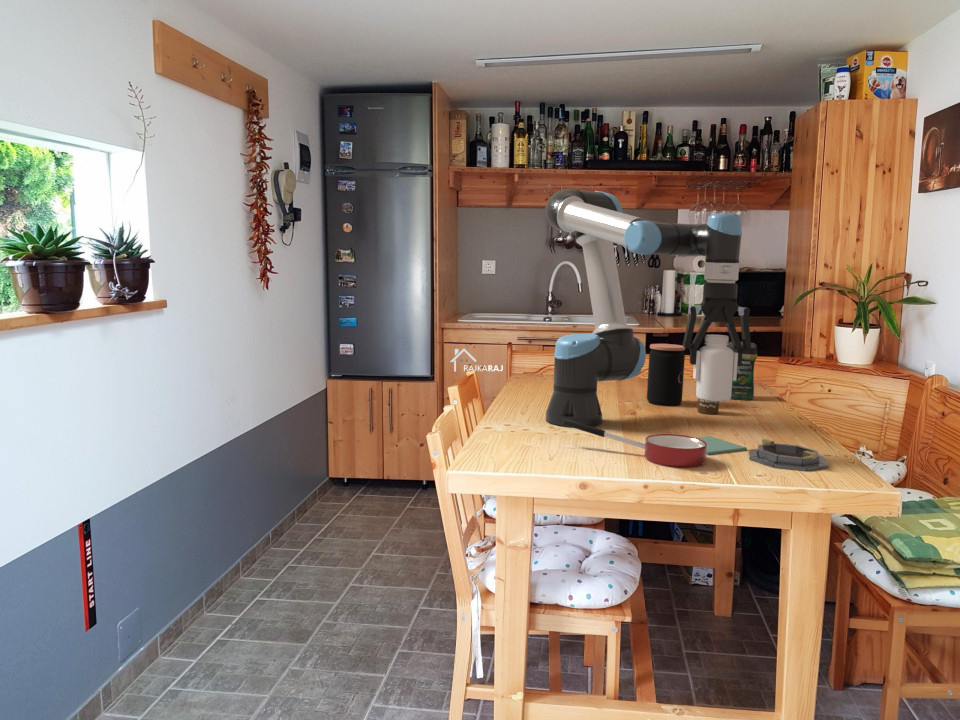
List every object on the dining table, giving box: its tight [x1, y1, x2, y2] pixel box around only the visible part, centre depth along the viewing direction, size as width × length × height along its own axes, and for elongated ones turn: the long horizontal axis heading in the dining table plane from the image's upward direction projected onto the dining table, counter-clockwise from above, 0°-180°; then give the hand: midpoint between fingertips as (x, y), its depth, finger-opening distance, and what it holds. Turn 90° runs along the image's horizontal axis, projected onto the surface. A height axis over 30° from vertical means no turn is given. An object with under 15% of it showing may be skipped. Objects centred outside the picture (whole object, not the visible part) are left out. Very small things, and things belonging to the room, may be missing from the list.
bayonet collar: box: [748, 438, 829, 472], centre depth 164 cm, size 16×16×3 cm
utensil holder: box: [697, 398, 720, 415], centre depth 215 cm, size 6×6×12 cm
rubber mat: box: [696, 435, 748, 456], centre depth 175 cm, size 12×12×1 cm
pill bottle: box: [695, 334, 734, 402], centre depth 172 cm, size 8×8×15 cm
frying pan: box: [564, 419, 707, 469], centre depth 165 cm, size 32×13×6 cm, turn 71°
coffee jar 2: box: [727, 341, 758, 401], centre depth 239 cm, size 10×8×19 cm
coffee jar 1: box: [646, 343, 686, 407], centre depth 227 cm, size 11×11×18 cm
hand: (714, 379), depth 173 cm, fingers closed on pill bottle, 8 cm apart
